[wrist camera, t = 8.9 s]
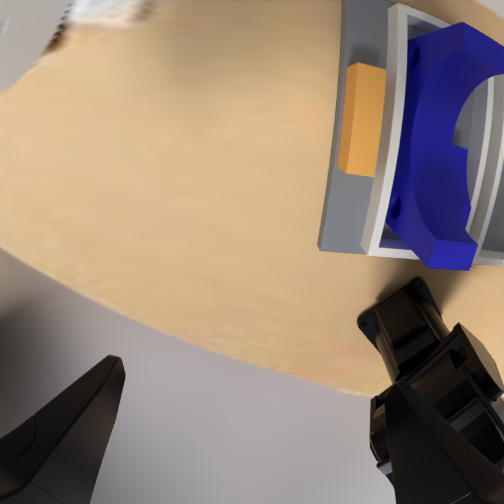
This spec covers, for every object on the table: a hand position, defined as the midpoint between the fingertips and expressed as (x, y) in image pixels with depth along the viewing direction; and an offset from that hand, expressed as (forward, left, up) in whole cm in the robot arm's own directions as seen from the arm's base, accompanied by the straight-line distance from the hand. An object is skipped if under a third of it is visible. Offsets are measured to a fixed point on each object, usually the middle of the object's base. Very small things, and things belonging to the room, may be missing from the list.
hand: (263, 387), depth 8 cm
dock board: (-5, -16, -12) cm, 21 cm away
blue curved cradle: (-2, -13, -11) cm, 17 cm away
